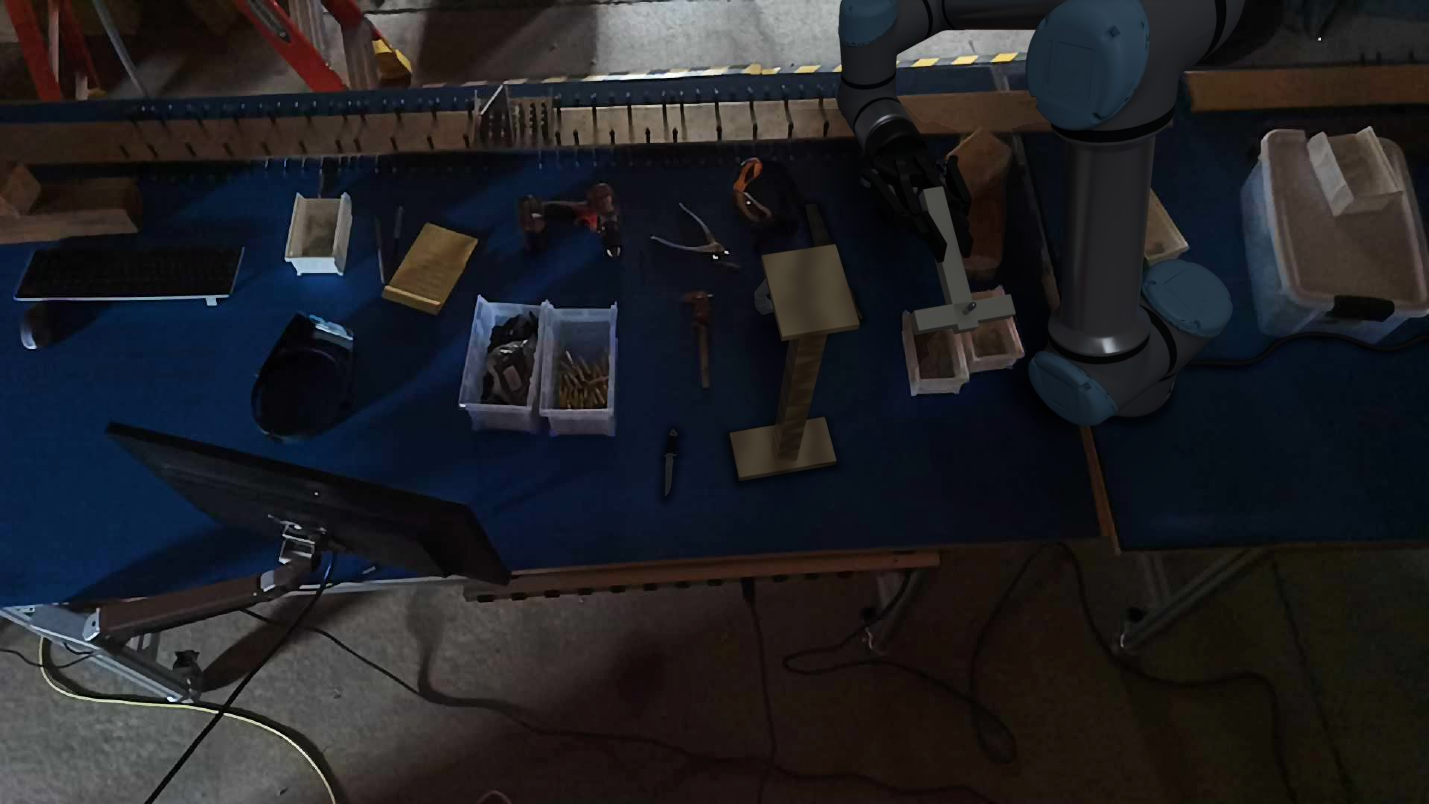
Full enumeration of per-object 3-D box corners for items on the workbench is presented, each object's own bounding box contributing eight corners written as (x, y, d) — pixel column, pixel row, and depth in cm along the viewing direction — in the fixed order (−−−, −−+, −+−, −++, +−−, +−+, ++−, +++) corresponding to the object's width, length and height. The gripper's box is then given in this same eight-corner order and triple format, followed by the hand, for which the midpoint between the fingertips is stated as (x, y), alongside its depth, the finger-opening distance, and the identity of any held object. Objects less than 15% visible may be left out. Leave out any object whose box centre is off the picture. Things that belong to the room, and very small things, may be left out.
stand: (819, 405, 127) (863, 239, 91) (836, 468, 122) (889, 319, 86) (726, 421, 125) (733, 259, 90) (739, 484, 121) (752, 341, 85)
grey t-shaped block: (974, 187, 107) (989, 168, 102) (1011, 324, 104) (1028, 312, 99) (881, 202, 106) (892, 184, 101) (915, 341, 103) (928, 329, 98)
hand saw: (789, 208, 143) (789, 206, 142) (815, 203, 143) (816, 200, 143) (835, 329, 132) (835, 326, 132) (863, 322, 133) (864, 320, 132)
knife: (668, 497, 120) (668, 496, 120) (655, 495, 120) (655, 494, 120) (682, 431, 125) (682, 430, 124) (669, 429, 125) (669, 428, 124)
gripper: (941, 157, 120) (1011, 265, 105) (833, 174, 119) (888, 286, 103) (950, 108, 114) (1025, 215, 99) (836, 125, 113) (895, 236, 98)
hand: (955, 251), depth 101 cm, fingers closed on grey t-shaped block, 2 cm apart
